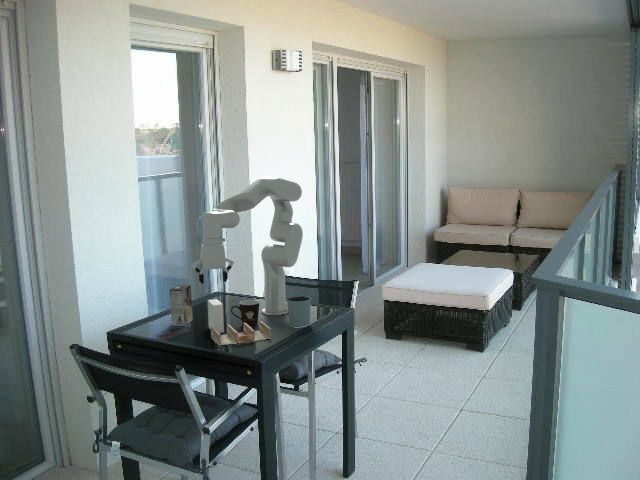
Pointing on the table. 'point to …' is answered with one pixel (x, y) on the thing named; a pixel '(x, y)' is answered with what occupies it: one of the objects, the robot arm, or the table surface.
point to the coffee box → (181, 305)
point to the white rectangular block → (215, 315)
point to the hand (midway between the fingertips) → (213, 282)
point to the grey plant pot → (299, 310)
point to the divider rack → (241, 334)
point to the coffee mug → (248, 312)
